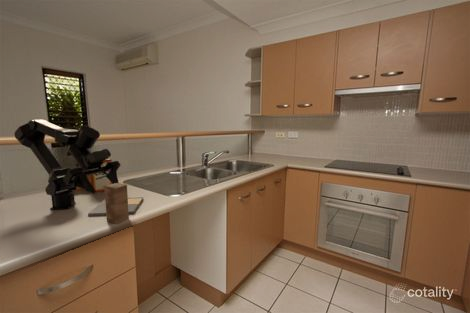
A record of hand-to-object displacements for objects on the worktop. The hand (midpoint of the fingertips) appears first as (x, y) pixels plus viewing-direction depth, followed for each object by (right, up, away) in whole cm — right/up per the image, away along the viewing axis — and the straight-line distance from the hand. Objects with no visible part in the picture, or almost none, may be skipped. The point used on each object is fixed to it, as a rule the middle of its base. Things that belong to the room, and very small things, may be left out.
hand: (107, 189), depth 80 cm
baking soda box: (-22, -5, +34) cm, 41 cm away
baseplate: (-2, -9, +12) cm, 15 cm away
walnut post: (+4, -11, 0) cm, 12 cm away
